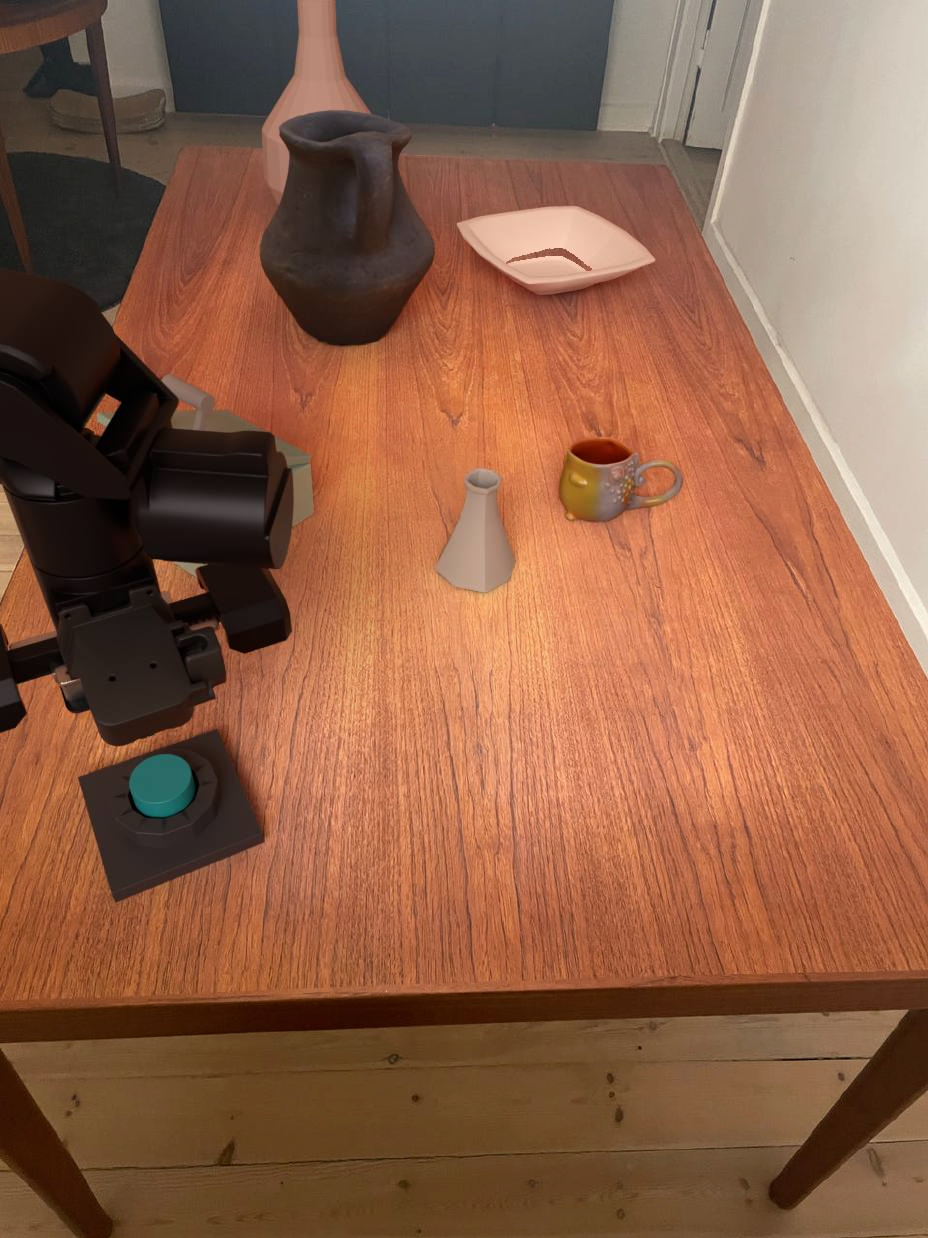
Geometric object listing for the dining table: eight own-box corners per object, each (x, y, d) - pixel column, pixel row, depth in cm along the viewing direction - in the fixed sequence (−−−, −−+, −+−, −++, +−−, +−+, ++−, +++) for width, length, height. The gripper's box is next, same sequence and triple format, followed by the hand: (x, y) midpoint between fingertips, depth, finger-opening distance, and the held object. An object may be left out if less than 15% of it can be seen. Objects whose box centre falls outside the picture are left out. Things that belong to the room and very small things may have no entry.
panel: (115, 903, 58) (105, 879, 56) (81, 786, 65) (71, 761, 62) (264, 842, 62) (260, 818, 60) (219, 738, 68) (213, 712, 66)
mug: (555, 522, 89) (564, 466, 85) (557, 481, 94) (566, 426, 89) (677, 536, 89) (693, 480, 84) (673, 494, 94) (687, 439, 89)
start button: (142, 827, 60) (137, 812, 58) (127, 781, 62) (122, 766, 61) (202, 804, 61) (198, 789, 60) (185, 760, 64) (181, 745, 62)
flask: (528, 561, 85) (541, 473, 78) (488, 604, 80) (497, 515, 73) (463, 532, 87) (469, 444, 80) (420, 572, 83) (423, 483, 76)
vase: (253, 240, 132) (227, -6, 111) (286, 196, 145) (269, -31, 124) (371, 253, 131) (368, 8, 110) (394, 209, 144) (395, -19, 123)
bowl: (440, 260, 131) (442, 220, 127) (576, 239, 139) (581, 200, 135) (516, 330, 117) (521, 287, 113) (662, 301, 126) (671, 260, 122)
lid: (187, 475, 72) (199, 410, 70) (95, 421, 77) (104, 358, 75) (309, 463, 84) (323, 407, 82) (224, 416, 89) (234, 362, 86)
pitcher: (394, 281, 125) (395, 77, 108) (462, 356, 112) (475, 136, 94) (248, 303, 118) (223, 89, 101) (301, 385, 105) (283, 154, 87)
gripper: (-101, 714, 38) (10, 899, 49) (319, 586, 45) (333, 773, 56) (-123, 555, 45) (-21, 749, 55) (245, 465, 51) (271, 653, 62)
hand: (146, 732), depth 57 cm, fingers closed
